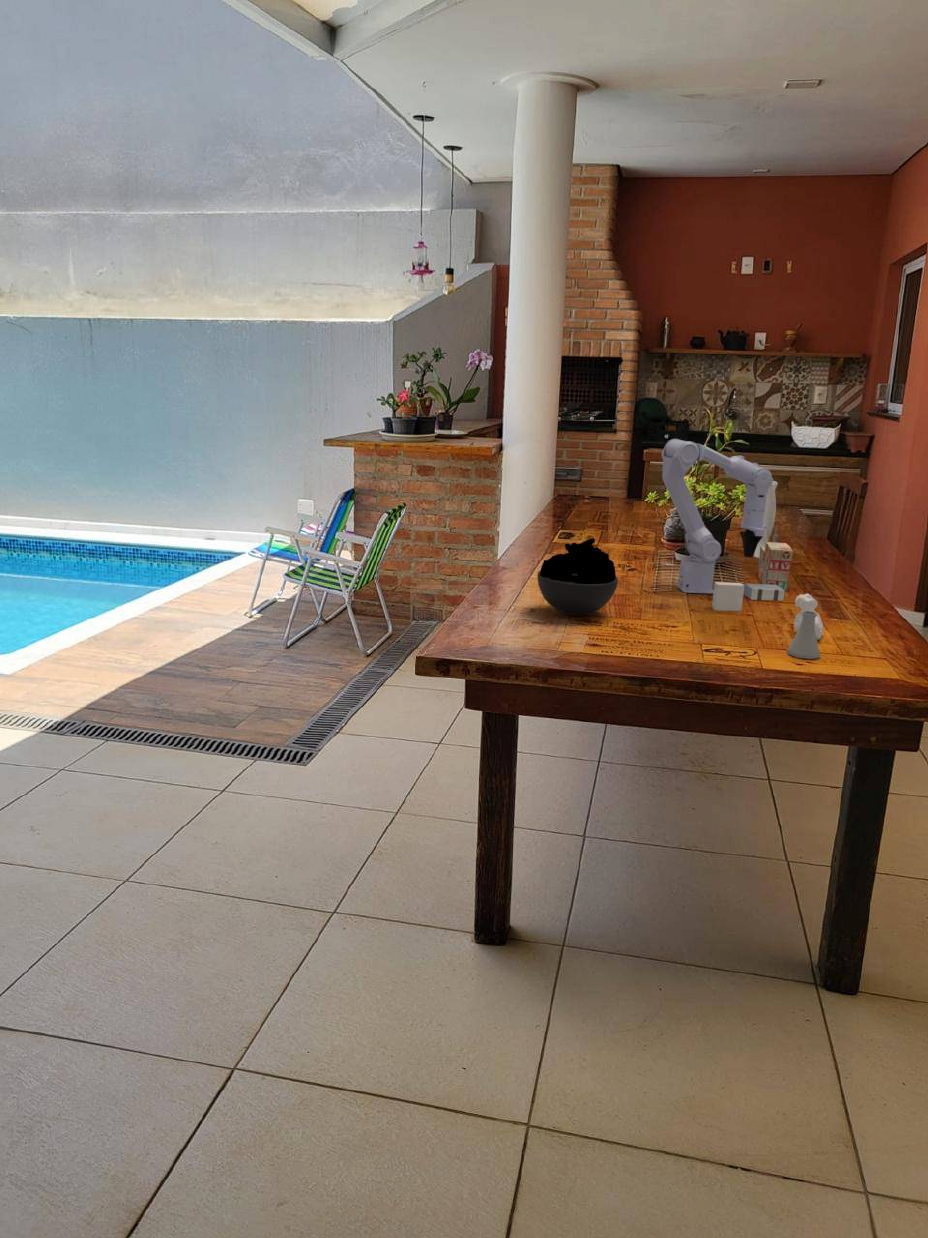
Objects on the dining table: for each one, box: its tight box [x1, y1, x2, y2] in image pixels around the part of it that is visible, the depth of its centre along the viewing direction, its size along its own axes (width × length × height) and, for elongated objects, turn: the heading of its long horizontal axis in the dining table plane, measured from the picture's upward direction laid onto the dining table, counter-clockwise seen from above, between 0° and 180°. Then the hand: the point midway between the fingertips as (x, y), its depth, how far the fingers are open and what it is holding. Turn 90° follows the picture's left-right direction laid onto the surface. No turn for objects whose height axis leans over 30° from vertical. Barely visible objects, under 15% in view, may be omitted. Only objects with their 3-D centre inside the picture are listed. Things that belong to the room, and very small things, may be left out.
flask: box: [786, 611, 821, 660], centre depth 209 cm, size 7×7×10 cm
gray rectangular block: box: [743, 583, 786, 602], centre depth 264 cm, size 9×3×7 cm
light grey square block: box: [711, 581, 745, 612], centre depth 248 cm, size 7×3×7 cm, turn 91°
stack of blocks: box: [757, 541, 794, 592], centre depth 282 cm, size 21×6×12 cm, turn 170°
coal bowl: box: [537, 537, 619, 617], centre depth 233 cm, size 20×20×19 cm
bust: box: [793, 593, 825, 640], centre depth 225 cm, size 12×8×11 cm
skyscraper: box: [752, 480, 779, 560], centre depth 322 cm, size 8×8×28 cm
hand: (748, 556), depth 269 cm, fingers closed
